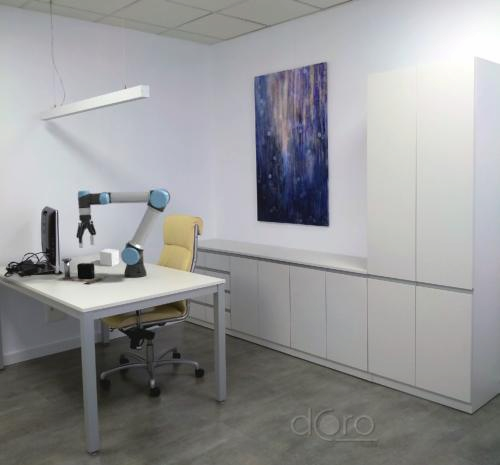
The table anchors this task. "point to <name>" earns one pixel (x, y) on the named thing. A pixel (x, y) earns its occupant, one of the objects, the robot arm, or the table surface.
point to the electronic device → (86, 271)
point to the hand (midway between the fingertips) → (87, 246)
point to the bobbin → (67, 268)
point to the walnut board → (82, 280)
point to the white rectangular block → (109, 257)
